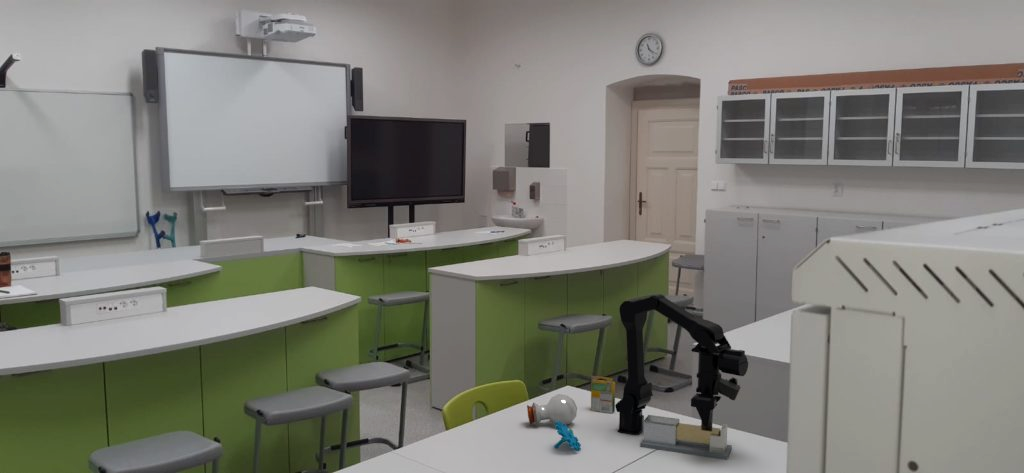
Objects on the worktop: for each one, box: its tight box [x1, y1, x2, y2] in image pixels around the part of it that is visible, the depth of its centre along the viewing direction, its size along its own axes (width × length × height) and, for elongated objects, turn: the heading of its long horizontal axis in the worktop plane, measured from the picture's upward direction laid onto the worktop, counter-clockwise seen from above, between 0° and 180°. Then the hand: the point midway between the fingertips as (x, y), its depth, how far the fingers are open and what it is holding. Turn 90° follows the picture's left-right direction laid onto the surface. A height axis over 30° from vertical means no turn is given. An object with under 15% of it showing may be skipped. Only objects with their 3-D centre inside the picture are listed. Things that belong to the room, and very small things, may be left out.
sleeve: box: [643, 414, 681, 446], centre depth 226 cm, size 9×5×6 cm, turn 67°
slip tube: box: [676, 410, 721, 444], centre depth 222 cm, size 14×4×9 cm, turn 67°
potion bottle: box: [526, 393, 578, 426], centre depth 242 cm, size 9×10×15 cm
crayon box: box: [590, 375, 616, 415], centre depth 256 cm, size 7×3×12 cm, turn 66°
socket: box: [710, 423, 728, 453], centre depth 220 cm, size 4×6×6 cm, turn 157°
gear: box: [554, 421, 582, 452], centre depth 222 cm, size 11×6×10 cm
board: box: [639, 438, 733, 461], centre depth 223 cm, size 24×9×1 cm, turn 67°
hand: (706, 424), depth 221 cm, fingers closed on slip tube, 3 cm apart
